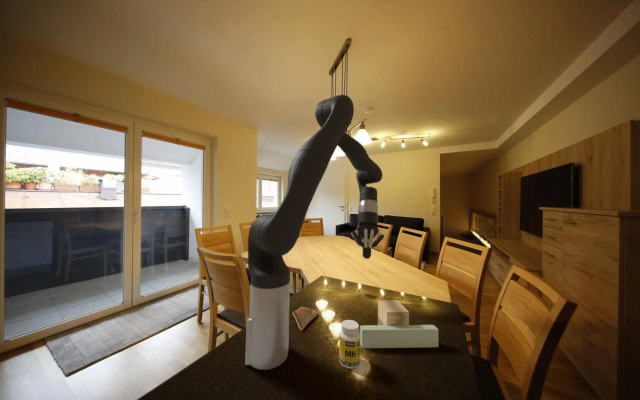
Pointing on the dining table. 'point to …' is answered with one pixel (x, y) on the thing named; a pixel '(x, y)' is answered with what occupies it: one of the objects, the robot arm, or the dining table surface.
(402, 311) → the birch block
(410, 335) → the sage fence board
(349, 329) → the supplement bottle
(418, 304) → the dining table surface
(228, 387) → the dining table surface
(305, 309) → the shard
